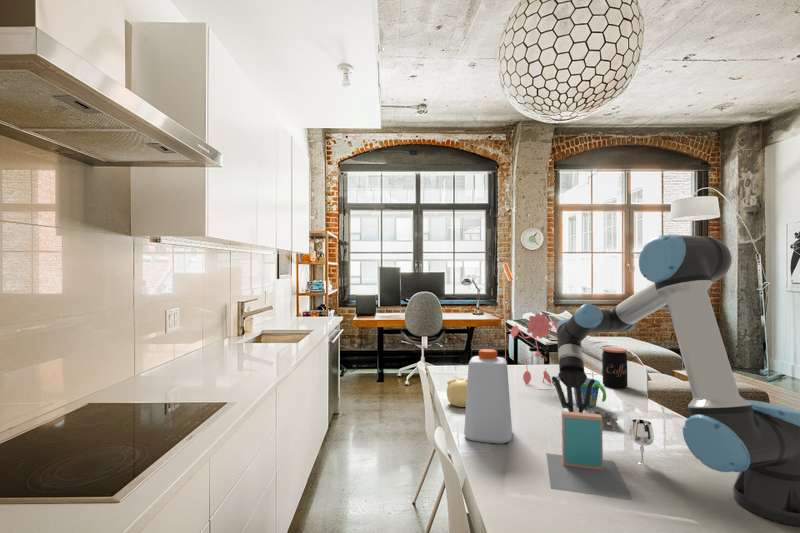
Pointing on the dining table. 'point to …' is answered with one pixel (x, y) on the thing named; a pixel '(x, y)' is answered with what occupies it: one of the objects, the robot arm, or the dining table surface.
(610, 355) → the coffee jar
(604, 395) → the snack cup
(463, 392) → the sculpture
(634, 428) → the wineglass
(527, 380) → the pink flower
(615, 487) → the mat
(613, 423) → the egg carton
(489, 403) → the plastic bottle
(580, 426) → the peach rectangular block
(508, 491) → the dining table surface
